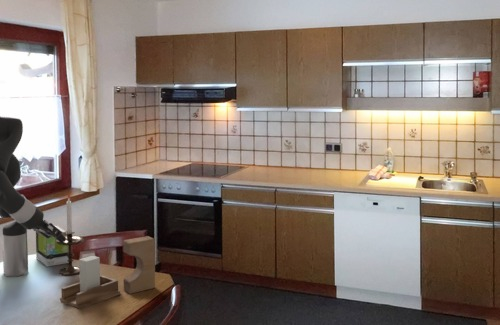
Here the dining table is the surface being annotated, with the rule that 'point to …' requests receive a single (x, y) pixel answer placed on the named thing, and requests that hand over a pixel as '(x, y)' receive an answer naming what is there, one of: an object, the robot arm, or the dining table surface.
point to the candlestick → (70, 244)
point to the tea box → (51, 249)
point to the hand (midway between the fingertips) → (56, 238)
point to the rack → (90, 293)
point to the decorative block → (140, 264)
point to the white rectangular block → (89, 272)
